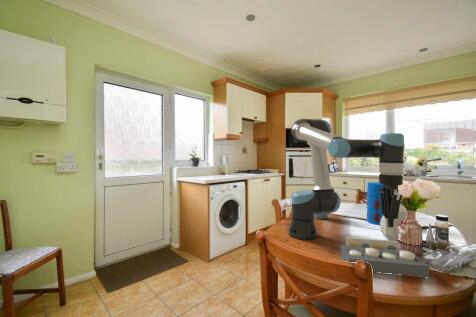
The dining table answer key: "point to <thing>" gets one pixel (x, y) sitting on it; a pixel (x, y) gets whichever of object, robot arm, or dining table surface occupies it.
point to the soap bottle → (400, 217)
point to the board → (388, 262)
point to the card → (372, 243)
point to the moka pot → (320, 216)
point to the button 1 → (355, 252)
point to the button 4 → (406, 255)
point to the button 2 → (371, 252)
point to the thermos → (374, 203)
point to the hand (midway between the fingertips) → (388, 234)
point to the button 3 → (388, 255)
